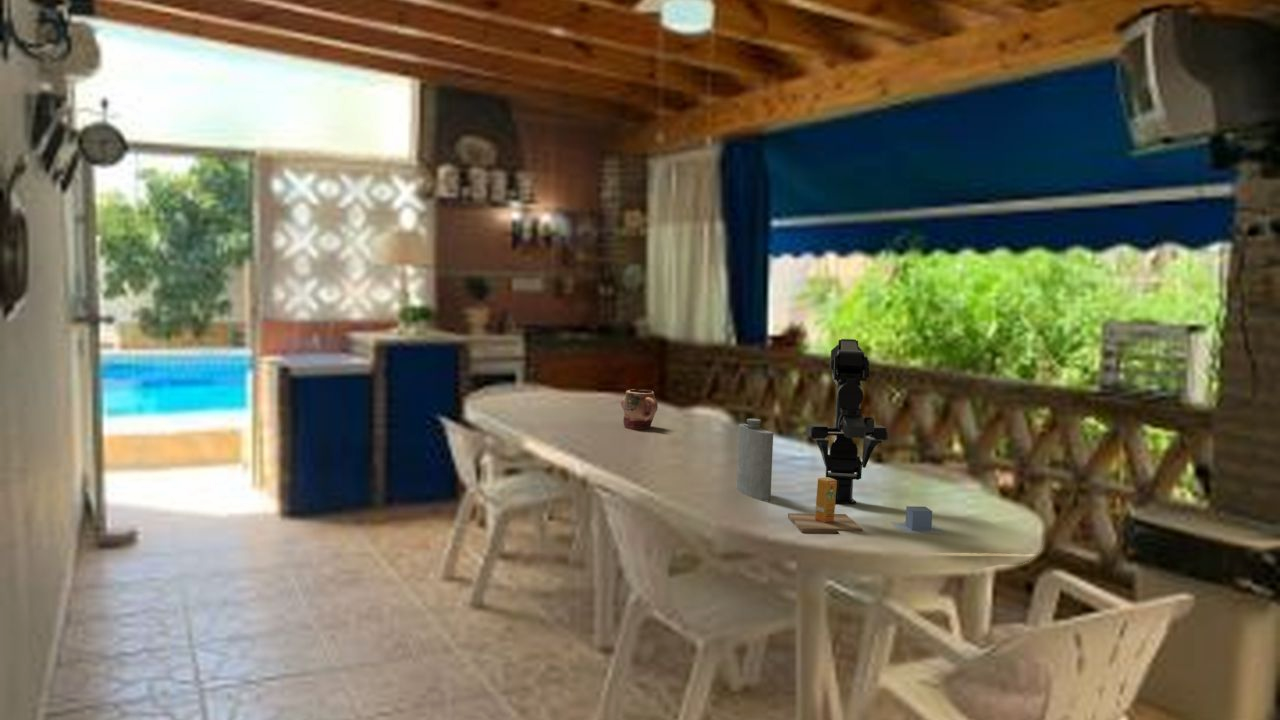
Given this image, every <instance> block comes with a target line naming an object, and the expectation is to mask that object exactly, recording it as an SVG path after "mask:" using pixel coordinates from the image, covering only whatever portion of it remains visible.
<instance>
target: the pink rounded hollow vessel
mask: <svg viewBox="0 0 1280 720" xmlns="http://www.w3.org/2000/svg"><path fill="white" fill-rule="evenodd" d="M624 394H625V395H624V397H623V398H622V400H621V401H620V406H621V408H622V409H623V412H624V413H623V425H624V428H627V429H630V430H645V429H649V428H651V427H652V422H653V420H654V418H655V415H656V413H657V411H658V408H659V407H658V401H657V399H656V397H655V393H654V391H653V390H651V389H638V388H637V389H636V388H633V389H629V390H626V391H625V393H624Z"/></svg>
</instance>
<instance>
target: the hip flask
mask: <svg viewBox="0 0 1280 720" xmlns="http://www.w3.org/2000/svg"><path fill="white" fill-rule="evenodd" d="M761 420H762V419H760V418H759V419H758V418H747V419H746V423H739V424H738V441H737V442H738V443H737V446H738V447H737V466H736V468H737V470H736V471H737V472H736V490H737V491H739V492H740V493H742V494H744V495H746V496H748V497H750V498H752V499H756V500H758V501H763V502H769V501H771V497H772V496H771V494H772V476H773V475H772V472H773V451H774V450H773V449H774V447H773V445H774V432H773V431H770V430H765V429H761V428H760V427H761V425H760V424H761V423H762V421H761Z"/></svg>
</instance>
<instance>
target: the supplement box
mask: <svg viewBox="0 0 1280 720" xmlns="http://www.w3.org/2000/svg"><path fill="white" fill-rule="evenodd" d="M816 485H817V488H816V500H815V513H814V514H815V520H817V521H820V522H823V523H826V522H833V521H834V514H835V509H836V508H835V507H836V503H835V499H836V487H837V480H835V479H833V478H829V477H826V476H825V477H818V478H817V484H816Z"/></svg>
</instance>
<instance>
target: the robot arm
mask: <svg viewBox="0 0 1280 720" xmlns="http://www.w3.org/2000/svg"><path fill="white" fill-rule="evenodd" d="M829 359H830V360H829V371H832V373H831V376H832V377H831V378H832V380H833V382H834V383H835V385H836V403H835V405H834V410H835V418H834V419H835V420H834V421H835V422H834V423H833V424H834V425H833V427H828V426H827V425H825V424H823V423H808V425H807V426H806V427H805V428H806V430H805V431H806V432H805V435H806V436H807V437H809V438H811V440H813V442H814V441H815V442H816V444H817V446H818V448H819V451H820V454H821V458H822V460H823V463H824V466H825V478H826V477H829V478H833V479H835V480H837V487H836V499H835V504H857V500H856V499H854V498H853V489H854V480H855V481H859V480H861V479H862V472H863V471H862V470H863V468H864V469H865V468H866V467H867V465H868V462H869V460H870V457H871V455H872V453H873V451H874V449H875V448H876V447H877V446H878V445H879V444H882V443H883V441H884V440H885V441H887V440H889V430H888V429H887V427H885V426H883V425H880V424H875V418H874V417H872V416H871V417H870V416H869V417H868V416H866V417H863V412H862V408H861V404H862V403H863V400H864V392H863V389H862V384H861V382H867V381H868V379H869V378H870V361H869V357H868V356H867V355H865V352H864V351H863V350H862V349H861V347H860V346H859V340H856V339H853V338H852V339H851V338H841V339H838V344H837V345H836V346H835V347H833V348H832V349H831V350H830V358H829ZM828 436H835V439H834V441H833V442H832V443H831V445H830V447H829V442H830V440H829V439H827V437H828ZM853 438H856V439H857V438H858V439H863V441H862V442H863V444H862V445H863V446H862V457H861V456H860V455H859V454H858V452H859V451H858V449H859V448H858V445H857V444H856V443H855V442H854V440H853ZM858 455H859V456H858Z"/></svg>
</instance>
